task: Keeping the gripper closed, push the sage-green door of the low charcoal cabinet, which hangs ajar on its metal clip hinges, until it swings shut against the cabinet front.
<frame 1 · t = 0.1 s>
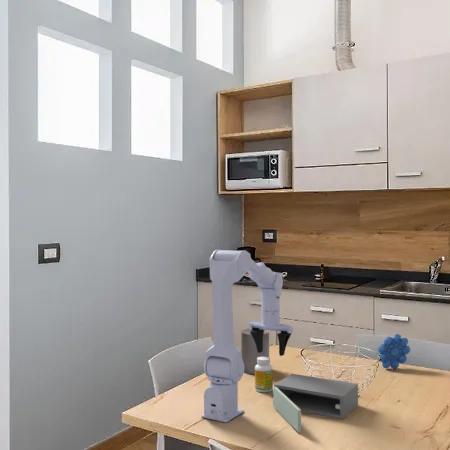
hand: (270, 353, 168), 10 cm above the table, fingers open, 7 cm apart
door: (285, 407, 140), point 3 cm above the table, hinge at 45.0°
supplement bottle: (263, 390, 164), on the table
cabinet: (316, 405, 150), on the table
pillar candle: (255, 371, 185), on the table
blue flower shape: (392, 368, 186), on the table
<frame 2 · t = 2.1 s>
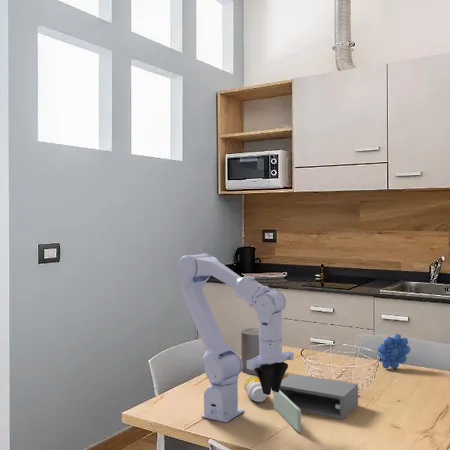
hand: (271, 392, 135), 8 cm above the table, fingers closed
supplement bottle: (252, 384, 161), point 3 cm above the table
everything else where it was.
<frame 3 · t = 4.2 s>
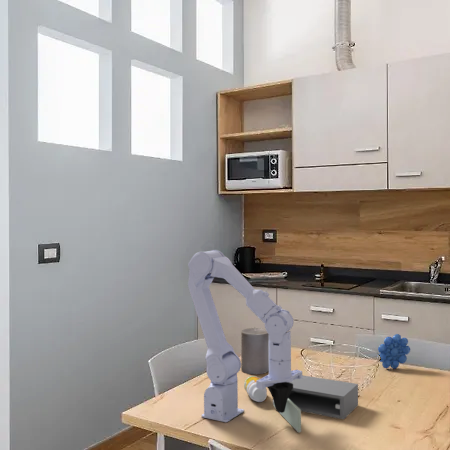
hand: (280, 411, 137), 3 cm above the table, fingers closed
door: (285, 407, 140), point 3 cm above the table, hinge at 45.0°, touching gripper
everything else where it was.
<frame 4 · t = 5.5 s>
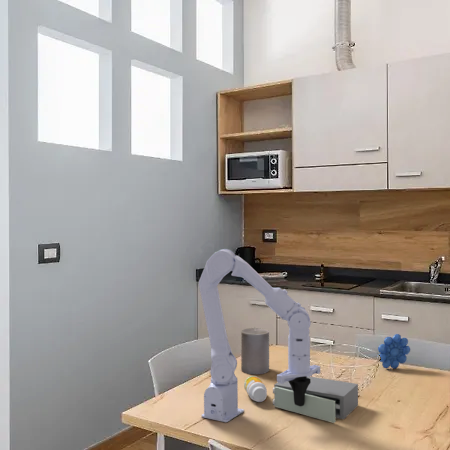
hand: (299, 405, 142), 3 cm above the table, fingers closed, pressing on door
door: (302, 403, 143), point 3 cm above the table, hinge at 9.4°, touching gripper
everything else where it was.
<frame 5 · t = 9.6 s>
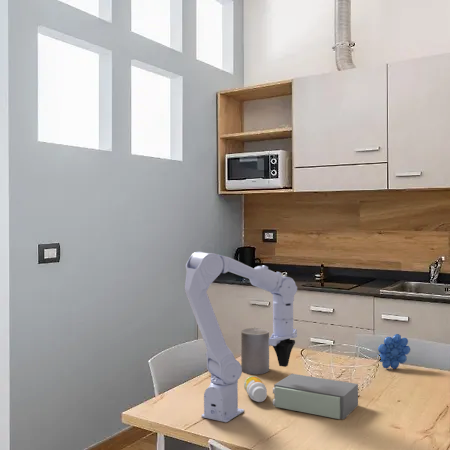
hand: (283, 365, 152), 10 cm above the table, fingers closed
door: (305, 401, 144), point 3 cm above the table, hinge at -0.3°
everything else where it was.
at the end: door at +0° (first picture: +45°) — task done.
